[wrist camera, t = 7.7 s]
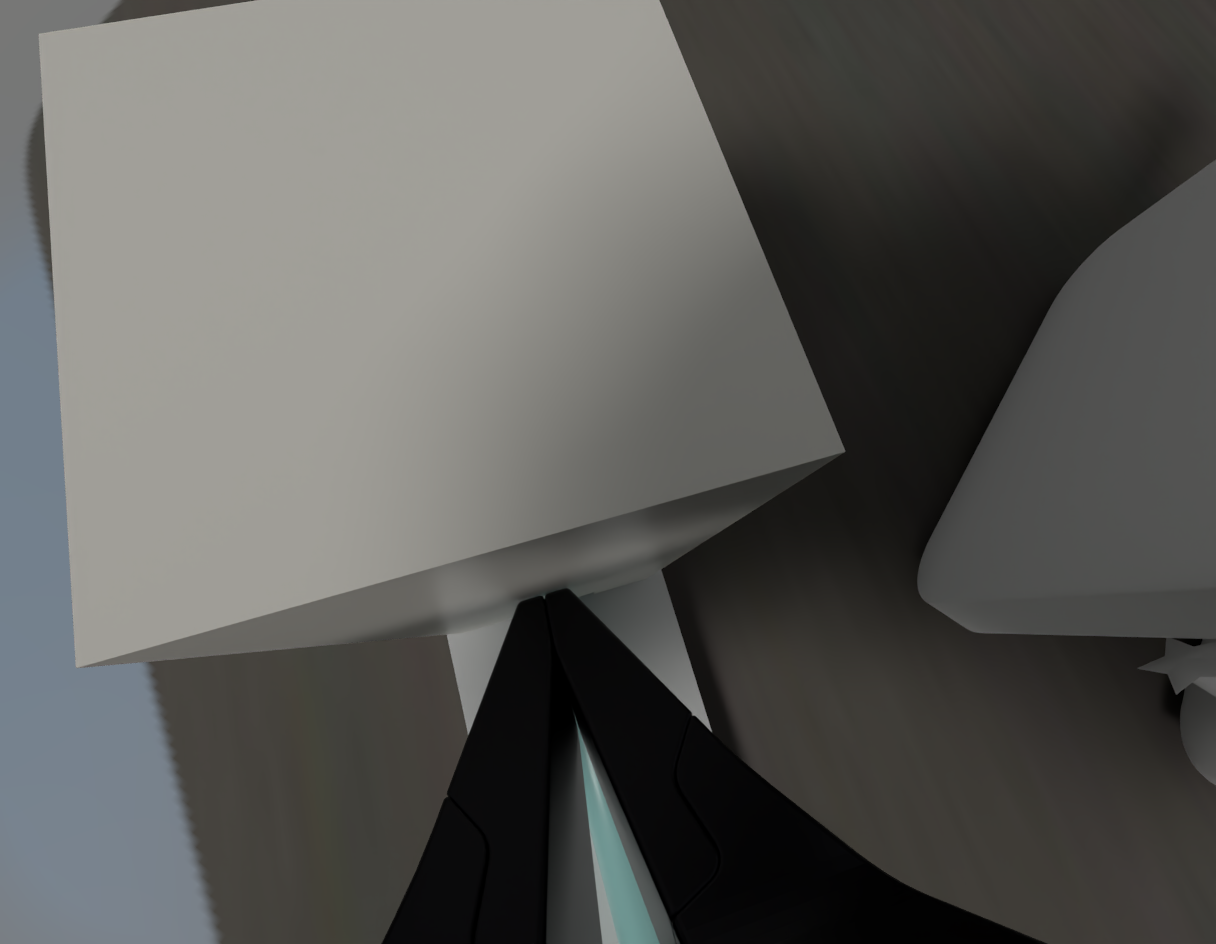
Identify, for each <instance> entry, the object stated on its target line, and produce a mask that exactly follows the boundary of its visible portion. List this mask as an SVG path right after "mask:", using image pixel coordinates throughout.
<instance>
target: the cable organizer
mask: <svg viewBox="0 0 1216 944" xmlns="http://www.w3.org/2000/svg"><path fill="white" fill-rule="evenodd" d="M917 586H918V592H919V594H920V596H921V598H922V599H923V600H924V601H925V602H927V603H928V604H930V605H931V606H933V607H934V608H936V609H937V610H939V611H940V612H942V613H943V614H945V615H946V616H948V617H949V618H951V619H952V620H954V621H955V622H957V623H958V624H960V625H961V626H963V627H965V628H966V629H968V630H970V631H972V632H977V633H999V634H1037V635H1076V636H1114V637H1153V638H1166V647H1165V656H1164V657H1161V658H1159V659H1157V660H1155V661H1152V662H1150V663H1148V664H1145V665H1143V666H1141V667H1139V668H1137V669H1142V670H1148V671H1153V672H1159V673H1164V674H1168V676H1169V679H1170V681H1171V684H1172V686H1173V689H1174V691H1175V693H1176V695H1177V694H1178V693H1179V692H1181V691H1182V690H1183V689H1185V691H1184V697H1183V701H1182V705H1181V710H1180V732H1181V739H1182V742H1183V746H1184V749H1185V752H1186V754H1187V755H1188V757H1189V759H1190V761H1191V763H1192V764H1193V765H1194V766H1195V768H1196V769H1197V770H1198V772H1199V773H1200V774H1201V775H1203V776H1204V777H1205V778H1206V779H1207V780H1208V781H1210V782H1211V783H1213V784H1214V785H1216V160H1214V161H1213V162H1212V163H1210V164H1209V165H1207V166H1206V167H1205V168H1203V169H1202V170H1201V171H1199V172H1198V173H1196V174H1195V175H1194V176H1192V177H1191V178H1190V179H1188V180H1187V181H1185V182H1184V183H1183V184H1181V185H1180V186H1179V187H1177V188H1176V189H1174V190H1173V191H1172V192H1170V193H1169V194H1168V195H1166V196H1165V197H1163V198H1162V199H1161V200H1159V201H1158V202H1156V203H1155V204H1154V205H1152V206H1151V207H1150V208H1148V209H1147V210H1145V211H1144V212H1143V213H1141V214H1140V215H1139V216H1137V217H1136V218H1134V219H1133V220H1132V221H1130V222H1129V223H1128V224H1126V225H1125V226H1123V227H1122V228H1121V229H1119V230H1118V231H1117V232H1115V233H1114V234H1113V235H1112V236H1110V237H1109V238H1108V239H1107V240H1106V241H1105V242H1103V243H1102V244H1101V245H1100V246H1099V247H1098V248H1097V249H1096V250H1095V251H1094V252H1093V253H1092V254H1091V255H1090V256H1089V257H1088V258H1087V259H1086V260H1085V261H1084V262H1083V263H1082V264H1081V265H1080V266H1079V268H1078V269H1077V270H1076V271H1075V272H1074V273H1073V275H1072V276H1071V277H1070V279H1069V280H1068V281H1067V282H1066V284H1065V285H1064V286H1063V288H1062V289H1061V291H1060V292H1059V294H1058V295H1057V297H1056V298H1055V300H1054V302H1053V303H1052V305H1051V307H1050V309H1049V311H1048V312H1047V314H1046V316H1045V318H1044V320H1043V322H1042V324H1041V326H1040V328H1039V330H1038V332H1037V334H1036V336H1035V337H1034V339H1033V341H1032V343H1031V345H1030V347H1029V349H1028V351H1027V353H1026V355H1025V357H1024V359H1023V360H1022V362H1021V364H1020V366H1019V368H1018V370H1017V372H1016V374H1015V376H1014V378H1013V380H1012V382H1011V384H1010V385H1009V387H1008V389H1007V391H1006V393H1005V395H1004V397H1003V399H1002V401H1001V403H1000V405H999V407H998V408H997V410H996V412H995V414H994V416H993V418H992V420H991V422H990V424H989V426H988V428H987V430H986V432H985V433H984V435H983V437H982V439H981V441H980V443H979V445H978V447H977V449H976V451H975V453H974V455H973V456H972V458H971V460H970V462H969V464H968V466H967V468H966V470H965V472H964V474H963V476H962V478H961V480H960V481H959V483H958V485H957V487H956V489H955V491H954V493H953V495H952V497H951V499H950V501H949V503H948V504H947V506H946V508H945V510H944V512H943V514H942V516H941V518H940V520H939V522H938V524H937V526H936V527H935V529H934V531H933V533H932V535H931V537H930V539H929V541H928V543H927V545H926V548H925V550H924V553H923V555H922V558H921V561H920V565H919V569H918V576H917ZM1172 638H1192V639H1203V640H1202V643H1201V645H1198V646H1194V647H1193V646H1191V645H1188V644H1185V643H1183V642H1180V641H1178V640H1175V639H1172Z"/></svg>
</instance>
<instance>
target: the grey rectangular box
mask: <svg viewBox="0 0 1216 944" xmlns="http://www.w3.org/2000/svg"><path fill="white" fill-rule="evenodd" d="M39 47H40V64H41V81H42V99H43V116H44V133H45V150H46V167H47V184H48V201H49V218H50V235H51V252H52V269H53V286H54V303H55V320H56V337H57V353H58V371H59V388H60V405H61V422H62V439H63V456H64V473H65V489H66V506H67V524H68V539H69V540H68V541H69V557H70V575H71V591H72V608H73V624H74V625H73V626H74V643H75V660H76V668H83V667H95V666H105V665H115V664H127V663H138V662H149V661H160V660H171V659H182V658H193V657H204V656H215V655H226V654H237V653H248V652H259V651H270V650H281V649H292V648H303V647H314V646H325V645H336V644H347V643H358V642H369V641H380V640H391V639H402V638H413V637H424V636H435V635H446V634H457V633H465V632H469V631H472V630H475V629H479V628H482V627H485V626H489V625H492V624H495V623H499V622H502V621H506V620H509V619H512V618H513V615H514V612H515V610H516V607H517V605H518V603H519V602H520V601H523V600H526V599H529V598H533V597H536V596H543V597H544V599H545V595H546V594H547V593H550V592H553V591H557V590H560V589H564V588H569V589H570V590H571V591H572V592H573V593H574V594H575V595H576V596H577V597H580V596H583V595H586V594H590V593H593V594H596V593H600V592H603V591H606V590H610V589H613V588H617V587H620V586H623V585H627V584H630V583H633V582H637V581H640V580H643V579H647V578H648V577H650V576H652V575H653V574H655V573H656V572H658V571H659V570H661V569H662V568H664V567H666V566H667V565H669V564H670V563H672V562H673V561H675V560H677V559H678V558H680V557H681V556H683V555H684V554H686V553H688V552H689V551H691V550H692V549H694V548H695V547H697V546H699V545H700V544H702V543H703V542H705V541H706V540H708V539H710V538H711V537H713V536H714V535H716V534H717V533H719V532H721V531H722V530H724V529H725V528H727V527H728V526H730V525H731V524H733V523H735V522H736V521H738V520H739V519H741V518H742V517H744V516H746V515H747V514H749V513H750V512H752V511H753V510H755V509H757V508H758V507H760V506H761V505H763V504H764V503H766V502H768V501H769V500H771V499H772V498H774V497H775V496H777V495H779V494H780V493H782V492H783V491H785V490H786V489H788V488H789V487H791V486H793V485H794V484H796V483H797V482H799V481H800V480H802V479H804V478H805V477H807V476H808V475H810V474H811V473H813V472H815V471H816V470H818V469H819V468H821V467H822V466H824V465H826V464H827V463H829V462H830V461H832V460H833V459H835V458H837V457H838V456H840V455H841V454H843V453H844V452H846V451H845V449H844V447H843V444H842V442H841V439H840V437H839V434H838V432H837V430H836V427H835V425H834V422H833V420H832V417H831V415H830V413H829V410H828V408H827V405H826V403H825V401H824V398H823V396H822V393H821V391H820V388H819V386H818V384H817V381H816V379H815V376H814V374H813V371H812V369H811V367H810V364H809V362H808V359H807V357H806V355H805V352H804V350H803V347H802V345H801V342H800V340H799V338H798V335H797V333H796V330H795V328H794V325H793V323H792V321H791V318H790V316H789V313H788V311H787V309H786V306H785V304H784V301H783V299H782V296H781V294H780V292H779V289H778V287H777V284H776V282H775V279H774V277H773V275H772V272H771V270H770V267H769V265H768V262H767V260H766V258H765V255H764V253H763V250H762V248H761V246H760V243H759V241H758V238H757V236H756V233H755V231H754V229H753V226H752V224H751V221H750V219H749V216H748V214H747V212H746V209H745V207H744V204H743V202H742V200H741V197H740V195H739V192H738V190H737V187H736V185H735V183H734V180H733V178H732V175H731V173H730V170H729V168H728V166H727V163H726V161H725V158H724V156H723V154H722V151H721V149H720V146H719V144H718V141H717V139H716V137H715V134H714V132H713V129H712V127H711V124H710V122H709V120H708V117H707V115H706V112H705V110H704V108H703V105H702V103H701V100H700V98H699V95H698V93H697V91H696V88H695V86H694V83H693V81H692V78H691V76H690V74H689V71H688V69H687V66H686V64H685V62H684V59H683V57H682V54H681V52H680V49H679V47H678V45H677V42H676V40H675V37H674V35H673V32H672V30H671V28H670V25H669V23H668V20H667V18H666V16H665V13H664V11H663V8H662V6H661V3H660V1H659V0H257V1H250V2H243V3H237V4H230V5H224V6H217V7H211V8H204V9H198V10H191V11H185V12H178V13H171V14H165V15H158V16H152V17H145V18H139V19H132V20H126V21H119V22H112V23H106V24H99V25H93V26H87V27H80V28H73V29H67V30H60V31H54V32H48V33H40V34H39Z"/></svg>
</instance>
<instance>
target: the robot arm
mask: <svg viewBox="0 0 1216 944" xmlns="http://www.w3.org/2000/svg"><path fill="white" fill-rule="evenodd" d="M575 717H576V718H575ZM576 720H577V723H576ZM577 724H578V727H579V730H580V733H581V736H582V739H583V742H584V744H585V747H586V750H587V752H588V755H589V758H590V760H591V763H592V765H593V768H594V771H595V773H596V776H597V779H598V781H599V784H600V787H601V789H602V792H603V795H604V797H605V800H606V803H607V805H608V808H609V811H610V813H611V816H612V818H613V821H614V824H615V826H616V829H617V832H618V834H619V837H620V840H621V842H622V845H623V848H624V850H625V853H626V856H627V858H628V861H629V864H630V866H631V869H632V871H633V874H634V877H635V879H636V882H637V885H638V887H639V890H640V893H641V895H642V898H643V901H644V903H645V906H646V909H647V911H648V914H649V917H650V919H651V922H652V925H653V927H654V930H655V932H656V935H657V938H658V940H659V943H660V944H1047V943H1044V942H1042V941H1039V940H1037V939H1035V938H1032V937H1030V936H1027V935H1025V934H1022V933H1020V932H1017V931H1015V930H1013V929H1010V928H1008V927H1005V926H1003V925H1000V924H998V923H995V922H993V921H990V920H988V919H986V918H983V917H981V916H978V915H976V914H973V913H971V912H968V911H966V910H964V909H961V908H959V907H956V906H954V905H951V904H949V903H946V902H944V901H941V900H939V899H937V898H934V897H932V896H929V895H927V894H925V893H922V892H920V891H918V890H916V889H914V888H912V887H910V886H908V885H906V884H904V883H902V882H900V881H899V880H897V879H895V878H894V877H892V876H890V875H889V874H887V873H885V872H884V871H882V870H881V869H879V868H878V867H877V866H875V865H874V864H872V863H871V862H869V861H868V860H867V859H865V858H864V857H863V856H861V855H860V854H859V853H857V852H856V851H855V850H853V849H852V848H851V847H850V846H848V845H847V844H846V843H844V842H843V841H842V840H841V839H839V838H838V837H837V836H836V835H834V834H833V833H832V832H830V831H829V830H828V829H827V828H825V827H824V826H823V825H822V824H820V823H819V822H818V821H817V820H815V819H814V818H813V817H811V816H810V815H809V814H808V813H806V812H805V811H804V810H803V809H801V808H800V807H799V806H797V805H796V804H795V803H794V802H792V801H791V800H790V799H789V798H787V797H786V796H785V795H783V794H782V793H781V792H780V791H778V790H777V789H776V788H775V787H773V786H772V785H771V784H770V783H768V782H767V781H766V780H765V779H764V778H762V777H761V776H760V775H759V774H758V773H756V772H755V771H754V770H753V769H752V768H750V767H749V766H748V765H747V764H746V763H744V762H743V761H742V760H741V759H740V758H739V757H738V756H736V755H735V754H734V753H733V752H732V751H731V750H730V749H729V748H728V747H727V746H726V745H725V744H724V743H723V742H722V741H721V740H720V739H718V738H717V737H716V736H715V735H714V734H713V733H712V732H711V731H710V730H709V729H708V728H707V727H706V726H705V725H704V724H703V723H702V722H701V721H700V720H699V719H698V718H697V717H696V716H692V712H691V711H690V710H689V709H688V708H687V707H686V706H685V705H684V704H683V703H682V702H681V701H680V700H679V699H678V698H677V697H676V696H675V695H674V694H673V693H672V692H671V691H670V690H669V689H668V688H667V687H666V686H665V685H664V684H663V683H662V682H661V681H660V680H659V679H658V678H657V677H656V676H655V675H654V674H653V673H652V672H651V671H650V669H649V668H648V667H647V666H646V665H645V664H644V663H643V662H642V661H641V660H640V659H639V658H638V657H637V656H636V655H635V654H634V653H633V652H632V651H631V650H630V649H629V648H628V647H627V646H626V645H625V644H624V643H623V642H622V641H621V640H620V639H619V638H618V637H617V636H616V635H615V634H614V633H613V632H612V631H611V630H610V629H609V628H608V627H607V626H606V625H605V624H604V623H603V622H602V621H601V620H600V619H599V618H598V617H597V616H596V615H595V614H594V613H593V612H592V611H591V610H590V609H589V608H588V607H587V606H586V605H585V604H584V603H583V602H582V601H581V600H580V599H579V598H578V597H577V596H576V595H575V594H574V593H573V592H572V591H571V590H570V589H569V588H564V589H560V590H557V591H553V592H550V593H547V594H546V595H545V599H544V597H543V596H536V597H533V598H529V599H526V600H523V601H520V602H519V603H518V605H517V607H516V610H515V612H514V615H513V618H512V620H511V623H510V626H509V628H508V631H507V634H506V636H505V639H504V642H503V644H502V647H501V650H500V652H499V655H498V658H497V660H496V663H495V666H494V668H493V671H492V674H491V676H490V679H489V682H488V684H487V687H486V690H485V692H484V695H483V698H482V700H481V703H480V706H479V708H478V711H477V714H476V716H475V719H474V722H473V724H472V727H471V730H470V732H469V735H468V738H467V740H466V743H465V746H464V748H463V751H462V754H461V756H460V759H459V762H458V764H457V767H456V770H455V772H454V775H453V778H452V780H451V783H450V786H449V788H448V791H447V795H448V797H446V798H445V799H444V801H443V804H442V806H441V809H440V812H439V814H438V817H437V820H436V823H435V825H434V828H433V830H432V833H431V835H430V838H429V840H428V843H427V845H426V848H425V850H424V852H423V855H422V857H421V860H420V862H419V865H418V867H417V870H416V872H415V874H414V876H413V878H412V880H411V883H410V885H409V887H408V889H407V891H406V893H405V895H404V898H403V900H402V902H401V904H400V906H399V908H398V911H397V913H396V915H395V917H394V919H393V921H392V923H391V925H390V927H389V929H388V931H387V933H386V935H385V938H384V940H383V942H382V944H602V935H601V926H600V917H599V909H598V900H597V891H596V882H595V873H594V864H593V856H592V847H591V838H590V829H589V820H588V811H587V803H586V794H585V785H584V776H583V767H582V758H581V750H580V741H579V734H578V728H577Z"/></svg>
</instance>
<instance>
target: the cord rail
mask: <svg viewBox="0 0 1216 944" xmlns="http://www.w3.org/2000/svg"><path fill="white" fill-rule="evenodd" d="M578 598H579V599H580V600H581V601H582V602H583V603H584V604H585V605H586V606H587V607H588V608H589V609H590V610H591V611H592V612H593V613H594V614H595V615H596V616H597V617H598V618H599V619H600V620H601V621H602V622H603V623H604V624H605V625H606V626H607V627H608V628H609V629H610V630H611V631H612V632H613V633H614V634H615V635H616V636H617V637H618V638H619V639H620V640H621V641H622V642H623V643H624V644H625V645H626V646H627V647H628V648H629V649H630V650H631V651H632V652H633V653H634V654H635V655H636V656H637V657H638V658H639V659H640V660H641V661H642V662H643V663H644V664H645V665H646V666H647V667H648V668H649V669H650V671H651V672H652V673H653V674H654V675H655V676H656V677H657V678H658V679H659V680H660V681H661V682H662V683H663V684H664V685H665V686H666V687H667V688H668V689H669V690H670V691H671V692H672V693H673V694H674V695H675V696H676V697H677V698H678V699H679V700H680V701H681V702H682V703H683V704H684V705H685V706H686V707H687V708H688V709H689V710H690V711H691V712H692V716H696V717H697V718H698V719H699V720H700V721H701V722H702V723H703V724H704V725H705V726H706V727H707V728H708V729H709V730H710V731H711V732H712V730H711V727H710V724H709V721H708V718H707V714H706V711H705V708H704V705H703V702H702V698H701V695H700V692H699V689H698V686H697V682H696V679H695V676H694V673H693V670H692V666H691V663H690V660H689V657H688V654H687V650H686V647H685V644H684V641H683V638H682V634H681V631H680V628H679V625H678V622H677V618H676V615H675V612H674V609H673V606H672V602H671V599H670V596H669V593H668V590H667V586H666V583H665V580H664V577H663V574H662V570H659V571H658V572H656V573H655V574H653V575H652V576H650V577H648V578H647V579H643V580H640V581H637V582H633V583H630V584H627V585H623V586H620V587H617V588H613V589H610V590H606V591H603V592H600V593H596V594H593V593H590V594H586V595H583V596H580V597H578ZM511 620H512V619H509V620H506V621H502V622H499V623H495V624H492V625H489V626H485V627H482V628H479V629H475V630H472V631H469V632H465V633H457V634H447V638H448V642H449V647H450V652H451V656H452V661H453V666H454V670H455V675H456V680H457V684H458V689H459V693H460V698H461V703H462V707H463V712H464V717H465V721H466V726H467V731H468V735H469V732H470V730H471V727H472V724H473V722H474V719H475V716H476V714H477V711H478V708H479V706H480V703H481V700H482V698H483V695H484V692H485V690H486V687H487V684H488V682H489V679H490V676H491V674H492V671H493V668H494V666H495V663H496V660H497V658H498V655H499V652H500V650H501V647H502V644H503V642H504V639H505V636H506V634H507V631H508V628H509V626H510V623H511ZM575 718H576V717H575ZM576 723H577V720H576ZM577 728H578V734H579V741H580V750H581V758H582V767H583V776H584V785H585V794H586V803H587V811H588V820H589V829H590V838H591V847H592V856H593V864H594V873H595V882H596V891H597V900H598V909H599V917H600V926H601V935H602V944H660V943H659V940H658V938H657V935H656V932H655V930H654V927H653V925H652V922H651V919H650V917H649V914H648V911H647V909H646V906H645V903H644V901H643V898H642V895H641V893H640V890H639V887H638V885H637V882H636V879H635V877H634V874H633V871H632V869H631V866H630V864H629V861H628V858H627V856H626V853H625V850H624V848H623V845H622V842H621V840H620V837H619V834H618V832H617V829H616V826H615V824H614V821H613V818H612V816H611V813H610V811H609V808H608V805H607V803H606V800H605V797H604V795H603V792H602V789H601V787H600V784H599V781H598V779H597V776H596V773H595V771H594V768H593V765H592V763H591V760H590V758H589V755H588V752H587V750H586V747H585V744H584V742H583V739H582V736H581V733H580V730H579V727H578V724H577Z"/></svg>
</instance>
